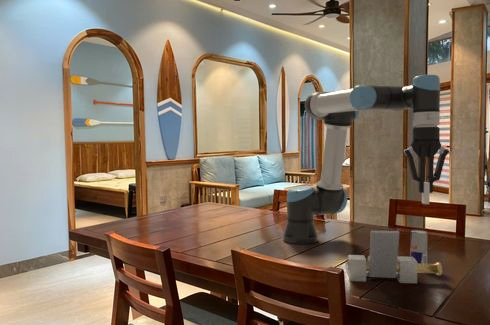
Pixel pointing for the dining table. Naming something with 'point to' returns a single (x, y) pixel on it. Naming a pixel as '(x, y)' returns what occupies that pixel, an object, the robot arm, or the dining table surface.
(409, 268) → the hinge knuckle blocks
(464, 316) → the dining table surface
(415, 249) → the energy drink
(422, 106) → the robot arm
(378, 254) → the leaf loose
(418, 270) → the pin
